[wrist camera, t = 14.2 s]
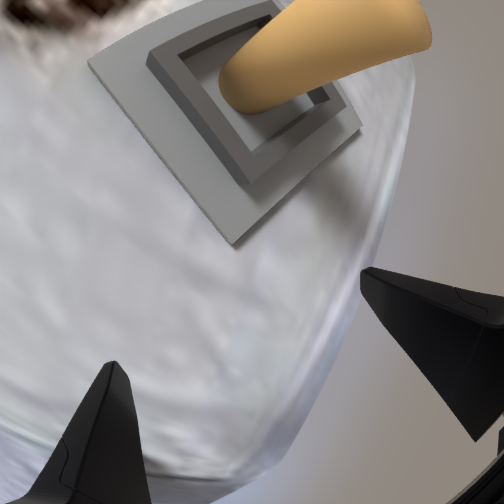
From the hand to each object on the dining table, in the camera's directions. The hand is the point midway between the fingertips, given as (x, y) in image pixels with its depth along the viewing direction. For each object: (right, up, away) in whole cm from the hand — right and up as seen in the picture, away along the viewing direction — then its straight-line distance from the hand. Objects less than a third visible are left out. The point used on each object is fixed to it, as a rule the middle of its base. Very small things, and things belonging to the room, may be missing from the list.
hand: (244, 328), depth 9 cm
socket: (0, +14, +9) cm, 17 cm away
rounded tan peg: (0, +14, +9) cm, 17 cm away
